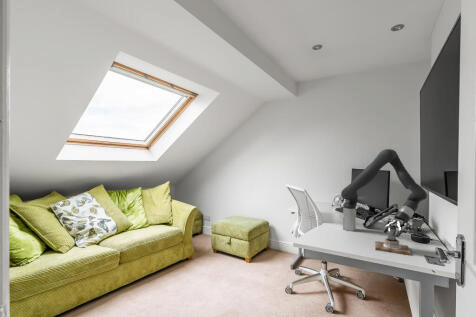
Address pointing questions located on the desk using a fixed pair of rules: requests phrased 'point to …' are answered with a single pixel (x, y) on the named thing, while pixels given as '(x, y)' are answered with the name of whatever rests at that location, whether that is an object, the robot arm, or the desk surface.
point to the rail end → (391, 233)
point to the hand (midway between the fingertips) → (390, 234)
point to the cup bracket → (392, 247)
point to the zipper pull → (416, 227)
